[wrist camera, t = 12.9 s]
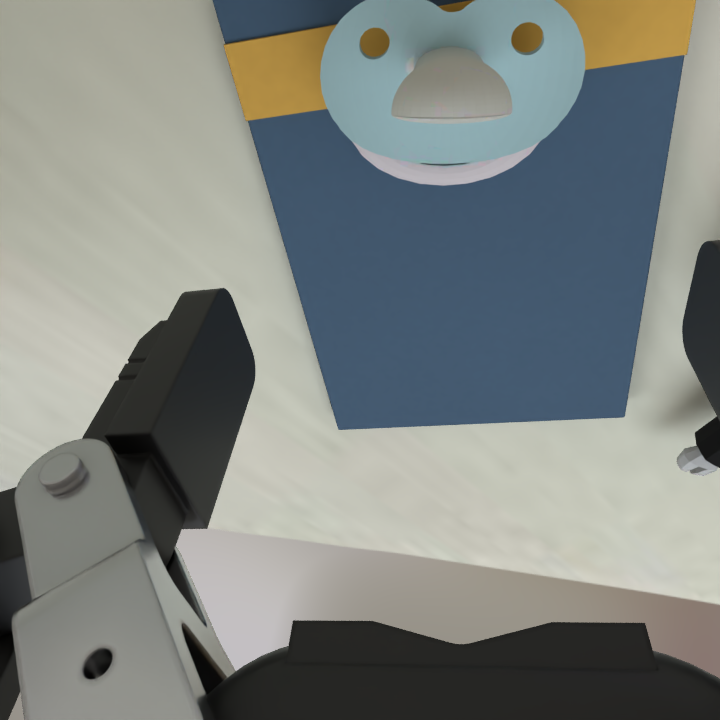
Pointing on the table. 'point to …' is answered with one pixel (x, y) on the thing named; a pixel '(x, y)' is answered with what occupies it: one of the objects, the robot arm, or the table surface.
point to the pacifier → (451, 85)
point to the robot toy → (703, 451)
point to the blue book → (468, 226)
